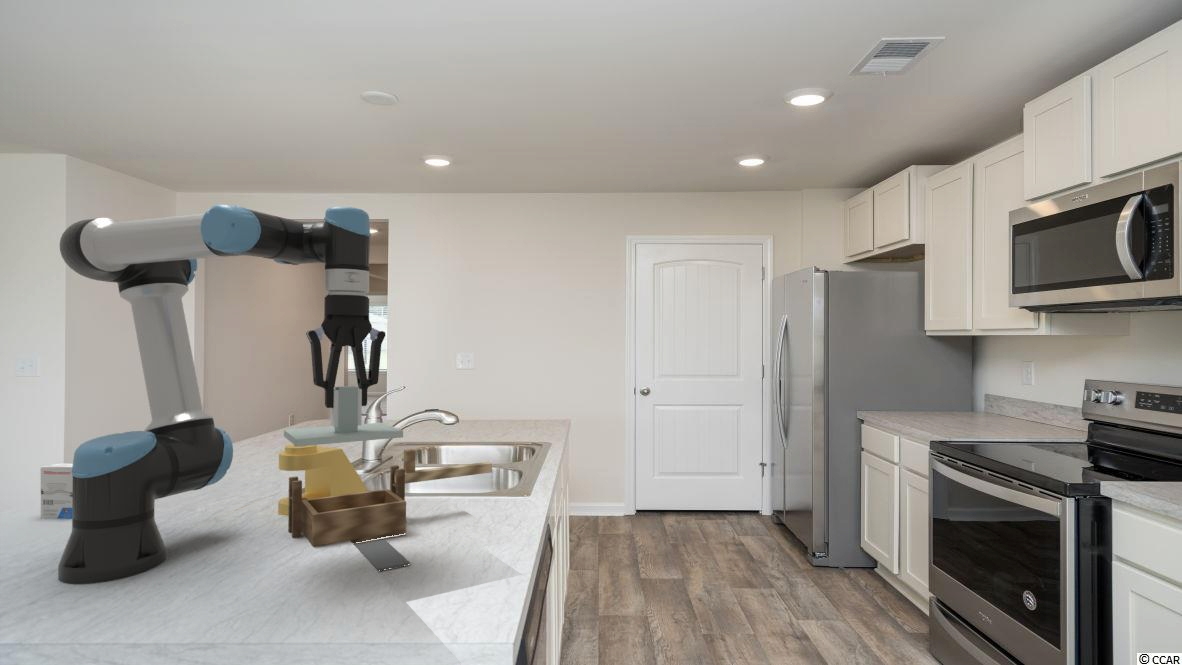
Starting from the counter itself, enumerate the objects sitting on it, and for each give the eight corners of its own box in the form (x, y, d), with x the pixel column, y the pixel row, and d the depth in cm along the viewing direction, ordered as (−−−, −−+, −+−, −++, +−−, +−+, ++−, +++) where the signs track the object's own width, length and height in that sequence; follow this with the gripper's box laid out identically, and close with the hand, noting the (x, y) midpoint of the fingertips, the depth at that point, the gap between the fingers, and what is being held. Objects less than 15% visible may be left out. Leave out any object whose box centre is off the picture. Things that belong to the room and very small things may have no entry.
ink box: (93, 513, 145) (93, 462, 145) (73, 520, 140) (74, 467, 140) (59, 512, 146) (60, 461, 146) (38, 518, 141) (39, 466, 141)
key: (397, 484, 139) (397, 452, 139) (394, 482, 141) (394, 450, 141) (491, 472, 152) (492, 442, 152) (488, 470, 154) (488, 441, 154)
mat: (288, 590, 102) (288, 586, 102) (274, 562, 114) (274, 559, 114) (409, 565, 113) (409, 562, 113) (385, 542, 126) (385, 539, 126)
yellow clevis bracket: (295, 522, 139) (296, 450, 140) (269, 516, 144) (270, 446, 144) (366, 501, 157) (367, 438, 157) (341, 497, 161) (341, 435, 162)
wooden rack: (300, 553, 119) (300, 490, 119) (288, 535, 130) (288, 477, 130) (416, 533, 132) (417, 476, 132) (396, 517, 143) (397, 465, 143)
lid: (296, 446, 104) (296, 391, 104) (283, 436, 114) (284, 385, 114) (403, 437, 114) (403, 386, 114) (382, 428, 124) (382, 382, 124)
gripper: (302, 291, 105) (300, 431, 105) (398, 295, 114) (397, 424, 114) (294, 293, 111) (292, 426, 111) (386, 297, 120) (385, 419, 120)
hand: (346, 425), depth 112 cm, fingers closed on lid, 3 cm apart
